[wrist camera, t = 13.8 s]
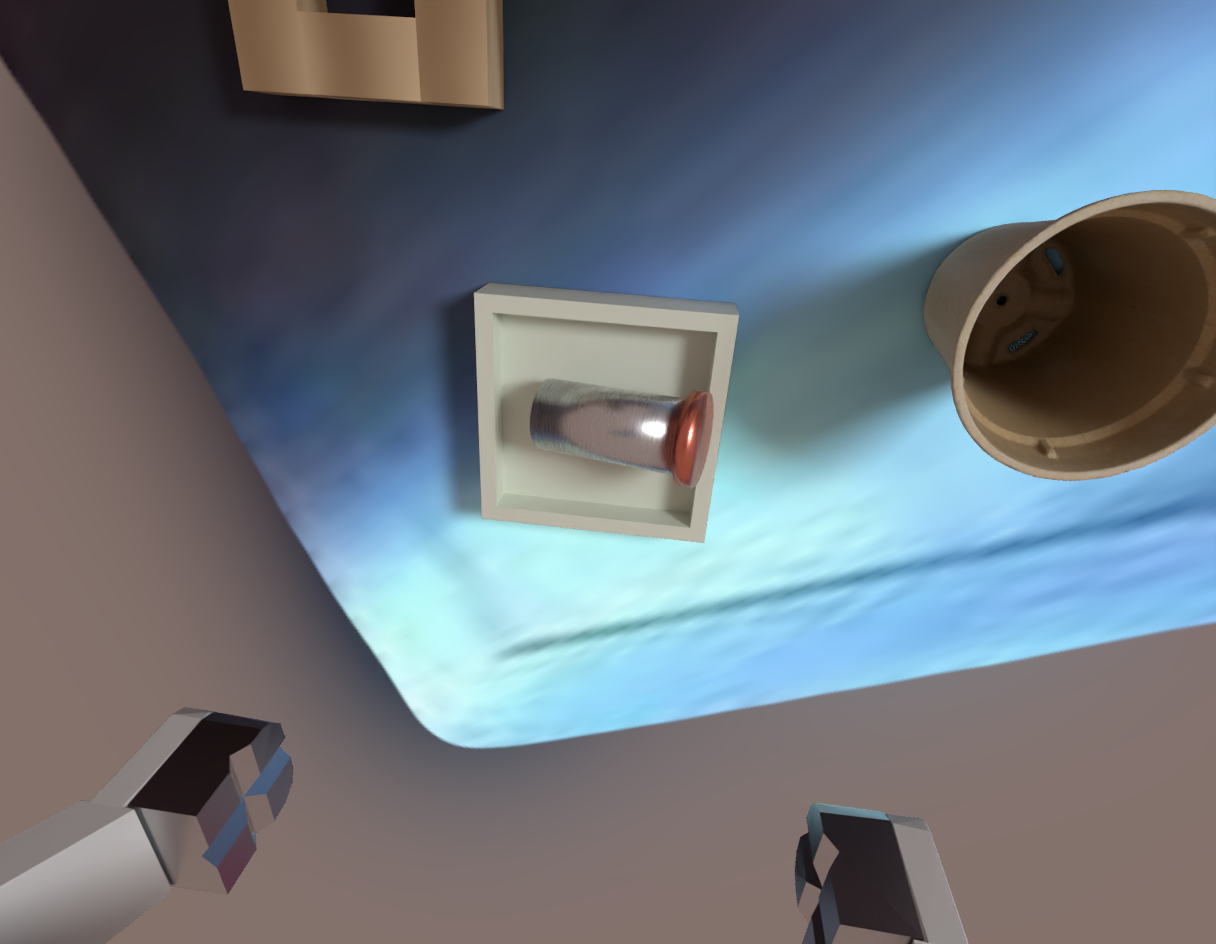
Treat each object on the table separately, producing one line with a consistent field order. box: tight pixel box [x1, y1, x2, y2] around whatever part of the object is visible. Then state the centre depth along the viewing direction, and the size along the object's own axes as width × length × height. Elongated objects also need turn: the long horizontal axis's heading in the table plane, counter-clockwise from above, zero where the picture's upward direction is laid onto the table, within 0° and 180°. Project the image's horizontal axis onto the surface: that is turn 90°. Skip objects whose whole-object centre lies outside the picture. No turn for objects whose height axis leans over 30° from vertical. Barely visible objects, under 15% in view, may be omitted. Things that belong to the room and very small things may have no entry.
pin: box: [530, 378, 714, 488], centre depth 29 cm, size 4×4×8 cm
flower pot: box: [923, 190, 1216, 481], centre depth 24 cm, size 9×9×9 cm
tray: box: [474, 283, 739, 543], centre depth 31 cm, size 12×12×2 cm
